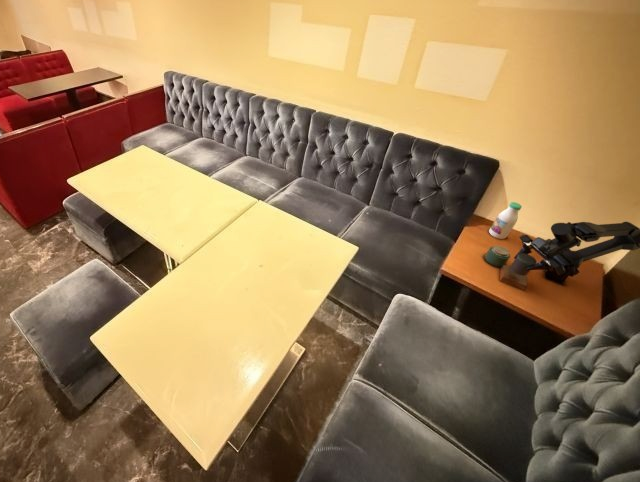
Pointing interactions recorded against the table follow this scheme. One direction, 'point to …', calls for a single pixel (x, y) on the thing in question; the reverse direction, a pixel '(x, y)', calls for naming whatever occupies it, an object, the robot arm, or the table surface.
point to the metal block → (512, 278)
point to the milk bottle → (505, 221)
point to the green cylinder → (497, 256)
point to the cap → (522, 264)
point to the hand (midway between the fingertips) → (520, 263)
